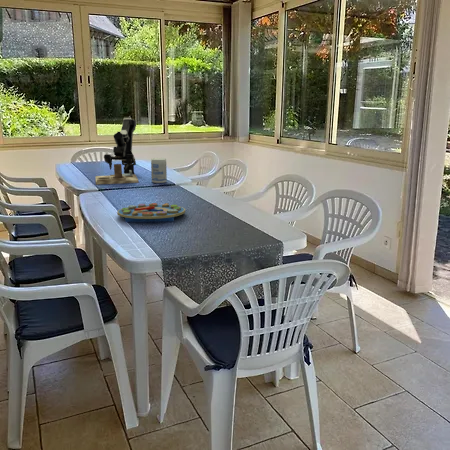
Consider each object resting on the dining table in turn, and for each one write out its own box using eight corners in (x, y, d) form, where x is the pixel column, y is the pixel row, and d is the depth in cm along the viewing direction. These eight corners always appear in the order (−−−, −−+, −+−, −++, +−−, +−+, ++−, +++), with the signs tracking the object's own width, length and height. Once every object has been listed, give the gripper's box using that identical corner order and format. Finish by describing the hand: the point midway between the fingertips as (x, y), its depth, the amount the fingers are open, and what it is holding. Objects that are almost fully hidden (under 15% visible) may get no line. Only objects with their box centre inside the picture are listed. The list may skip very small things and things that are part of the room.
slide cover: (131, 174, 297) (131, 169, 296) (132, 176, 290) (132, 171, 289) (121, 175, 295) (120, 170, 294) (121, 176, 288) (121, 171, 287)
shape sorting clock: (187, 208, 217) (186, 196, 215) (183, 226, 188) (183, 212, 186) (124, 208, 216) (123, 196, 214) (111, 226, 187) (110, 212, 185)
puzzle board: (135, 176, 299) (135, 172, 298) (138, 182, 279) (138, 177, 278) (95, 178, 292) (95, 173, 291) (95, 184, 272) (95, 179, 271)
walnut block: (121, 178, 283) (121, 163, 280) (122, 179, 279) (121, 164, 276) (114, 178, 282) (113, 164, 279) (115, 180, 278) (114, 165, 275)
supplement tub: (152, 183, 276) (151, 160, 272) (150, 181, 284) (149, 158, 280) (168, 182, 279) (167, 159, 274) (165, 180, 287) (164, 157, 283)
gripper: (103, 141, 279) (99, 161, 271) (132, 141, 278) (129, 161, 271) (107, 152, 288) (104, 172, 281) (136, 152, 288) (133, 172, 280)
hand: (117, 169), depth 278 cm, fingers open, 9 cm apart
